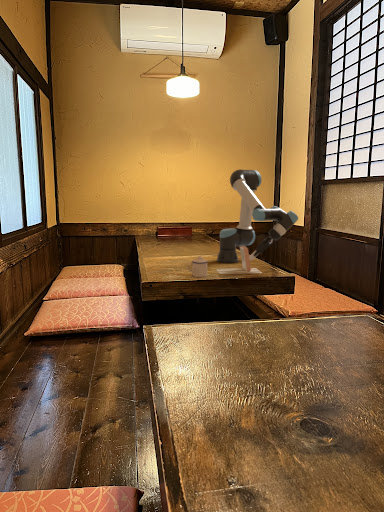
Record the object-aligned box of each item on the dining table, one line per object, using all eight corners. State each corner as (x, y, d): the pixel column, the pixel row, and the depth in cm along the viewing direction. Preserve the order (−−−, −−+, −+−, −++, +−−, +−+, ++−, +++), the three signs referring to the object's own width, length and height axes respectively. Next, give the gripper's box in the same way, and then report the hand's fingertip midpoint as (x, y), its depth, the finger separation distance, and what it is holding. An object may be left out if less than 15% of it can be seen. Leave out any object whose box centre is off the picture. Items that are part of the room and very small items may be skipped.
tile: (242, 268, 231) (239, 246, 229) (247, 267, 232) (244, 246, 229) (246, 271, 222) (243, 249, 219) (251, 270, 222) (247, 248, 219)
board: (214, 268, 235) (214, 267, 235) (254, 268, 237) (254, 266, 237) (219, 275, 215) (219, 273, 215) (262, 274, 217) (262, 272, 217)
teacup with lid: (208, 274, 218) (208, 255, 216) (206, 277, 209) (207, 257, 207) (188, 273, 220) (188, 254, 218) (186, 277, 211) (186, 257, 209)
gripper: (284, 237, 218) (256, 265, 219) (277, 235, 231) (251, 261, 232) (276, 228, 217) (248, 256, 218) (269, 227, 230) (243, 253, 231)
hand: (249, 259), depth 225 cm, fingers closed
